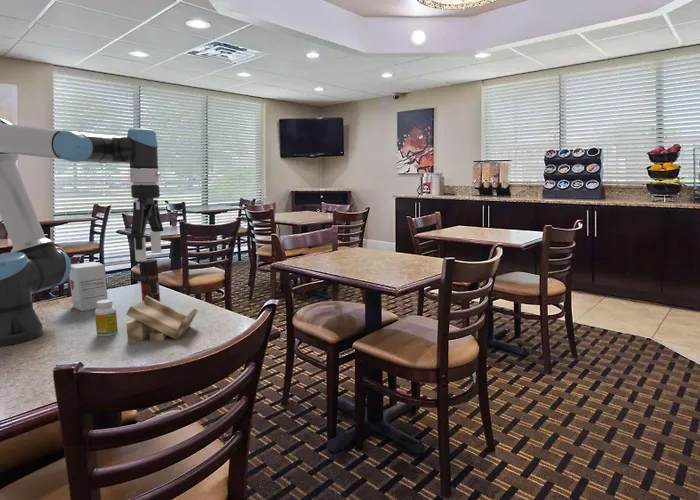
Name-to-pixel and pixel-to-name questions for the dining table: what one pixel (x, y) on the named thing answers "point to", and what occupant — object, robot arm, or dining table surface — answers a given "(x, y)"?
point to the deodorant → (149, 279)
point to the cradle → (156, 321)
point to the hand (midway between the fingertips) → (149, 256)
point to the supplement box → (87, 285)
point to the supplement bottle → (106, 318)
